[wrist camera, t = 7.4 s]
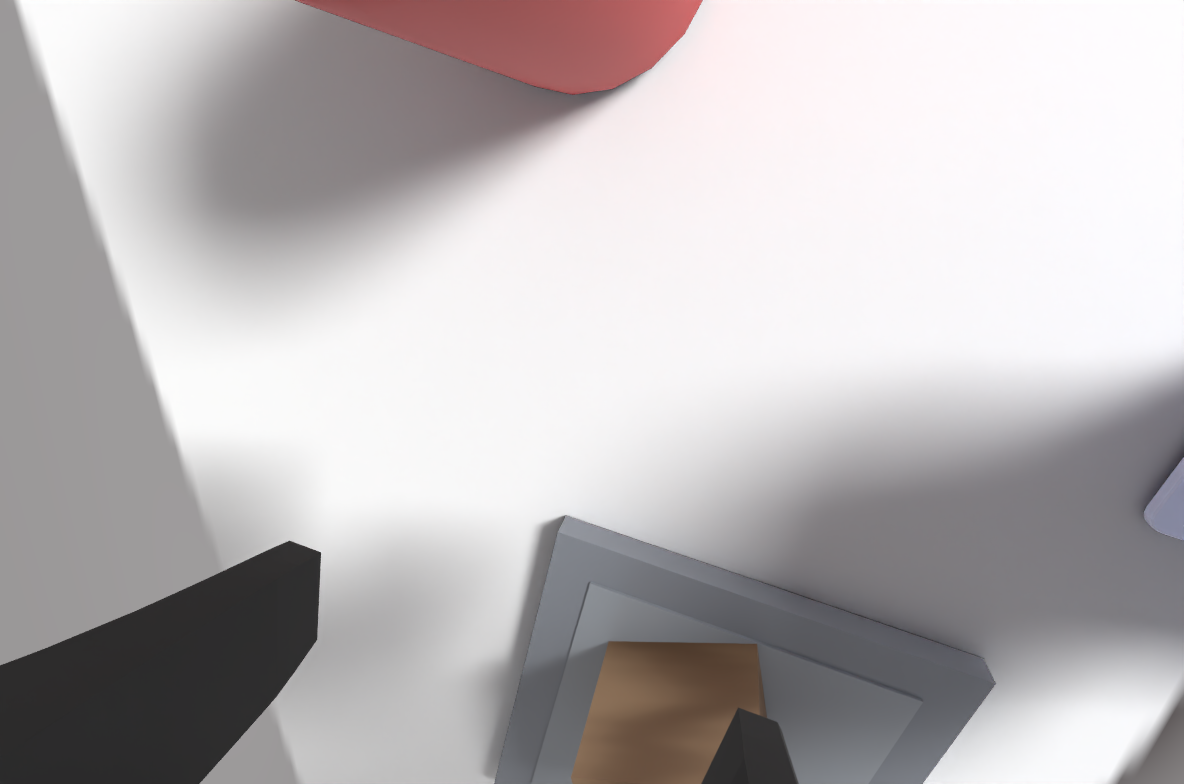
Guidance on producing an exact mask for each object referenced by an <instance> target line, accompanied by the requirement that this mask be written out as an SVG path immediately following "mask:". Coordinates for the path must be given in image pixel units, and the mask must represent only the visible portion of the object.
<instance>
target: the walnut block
mask: <svg viewBox="0 0 1184 784" xmlns="http://www.w3.org/2000/svg"><path fill="white" fill-rule="evenodd" d="M738 708H741V709H744V710H746V711H749V712H752V713H754V714H757V715H760V716H762V717H765V718H767V714H766V707H765V699H764V692H763V684H762V677H761V669H760V662H759V654H758V647H757V644H738V643H683V642H629V641H609V642H608V646H607V649H606V653H605V656H604V660H603V664H602V667H601V671H600V674H599V678H598V682H597V685H596V689H595V692H594V696H593V700H592V703H591V707H590V710H589V714H588V717H587V721H586V725H585V728H584V732H583V735H582V739H581V743H580V746H579V750H578V753H577V757H576V761H575V764H574V768H573V771H572V775H571V780H572V783H573V784H701V783H702V781H703V779H704V777H705V775H706V773H707V771H708V769H709V767H710V765H711V762H712V760H713V758H714V756H715V754H716V752H717V750H718V748H719V746H720V744H721V742H722V740H723V738H724V736H725V734H726V731H727V729H728V727H729V725H730V723H731V721H732V719H733V717H734V715H735V713H736V711H737V709H738Z"/></svg>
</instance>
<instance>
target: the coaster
mask: <svg viewBox="0 0 1184 784" xmlns="http://www.w3.org/2000/svg"><path fill="white" fill-rule="evenodd" d="M609 641H629V642H683V643H738V644H757V647H758V654H759V662H760V669H761V677H762V684H763V692H764V699H765V707H766V714H767V718H768V719H771V720H773V721H776V722H778V724H779V726H780V728H781V730H782V733H783V736H784V739H785V742H786V746H787V749H788V752H789V755H790V758H791V761H792V764H793V767H794V770H795V774H796V777H797V780H798V783H799V784H923V782H924V781H925V780H926V778H927V777H928V776H929V774H930V773H931V771H932V770H933V769H934V767H935V766H936V765H937V763H938V762H939V761H940V759H941V758H942V756H943V755H944V754H945V752H946V751H947V750H948V748H949V747H950V746H951V744H952V743H953V741H954V740H955V739H956V737H957V736H958V735H959V733H960V732H961V730H962V729H963V728H964V726H965V725H966V724H967V722H968V721H969V720H970V718H971V717H972V715H973V714H974V713H975V711H976V710H977V709H978V707H979V706H980V704H981V703H982V702H983V700H984V699H985V698H986V696H987V695H988V694H989V692H990V691H991V689H992V688H993V687H994V685H995V681H994V679H993V677H992V675H991V673H990V671H989V669H988V667H987V665H986V663H985V661H984V659H983V658H981V657H978V656H975V655H972V654H969V653H966V652H963V651H961V650H958V649H955V648H952V647H949V646H946V645H943V644H940V643H937V642H934V641H931V640H928V639H925V638H923V637H920V636H917V635H914V634H911V633H908V632H905V631H902V630H899V629H896V628H893V627H890V626H887V625H885V624H882V623H879V622H876V621H873V620H870V619H867V618H864V617H861V616H858V615H855V614H852V613H850V612H847V611H844V610H841V609H838V608H835V607H832V606H829V605H826V604H823V603H820V602H817V601H814V600H812V599H809V598H806V597H803V596H800V595H797V594H794V593H791V592H788V591H785V590H782V589H779V588H776V587H774V586H771V585H768V584H765V583H762V582H759V581H756V580H753V579H750V578H747V577H744V576H741V575H739V574H736V573H733V572H730V571H727V570H724V569H721V568H718V567H715V566H712V565H709V564H706V563H703V562H701V561H698V560H695V559H692V558H689V557H686V556H683V555H680V554H677V553H674V552H671V551H668V550H666V549H663V548H660V547H657V546H654V545H651V544H648V543H645V542H642V541H639V540H636V539H633V538H630V537H628V536H625V535H622V534H619V533H616V532H613V531H610V530H607V529H604V528H601V527H598V526H595V525H592V524H590V523H587V522H584V521H581V520H578V519H575V518H572V517H569V516H565V519H564V521H563V523H562V525H561V527H560V529H559V531H558V533H557V537H556V541H555V545H554V549H553V553H552V557H551V561H550V565H549V569H548V573H547V577H546V581H545V585H544V589H543V593H542V597H541V601H540V604H539V608H538V612H537V616H536V620H535V624H534V628H533V632H532V636H531V640H530V644H529V648H528V652H527V656H526V660H525V664H524V668H523V672H522V676H521V680H520V684H519V688H518V692H517V696H516V700H515V704H514V707H513V711H512V715H511V719H510V723H509V727H508V731H507V735H506V739H505V743H504V747H503V751H502V755H501V759H500V763H499V767H498V771H497V775H496V779H495V783H494V784H573V783H572V780H571V775H572V771H573V768H574V764H575V761H576V757H577V753H578V750H579V746H580V743H581V739H582V735H583V732H584V728H585V725H586V721H587V717H588V714H589V710H590V707H591V703H592V700H593V696H594V692H595V689H596V685H597V682H598V678H599V674H600V671H601V667H602V664H603V660H604V656H605V653H606V649H607V646H608V642H609Z"/></svg>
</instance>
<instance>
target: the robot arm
mask: <svg viewBox="0 0 1184 784" xmlns="http://www.w3.org/2000/svg"><path fill="white" fill-rule="evenodd" d="M1144 519H1145V520H1146V522H1147V523H1148V524H1149V525H1150V526H1151V527H1152V528H1153V529H1154V530H1156V531H1157V532H1159V533H1161V534H1164V535H1167V536H1171V537H1174V538H1177V539H1180V540H1184V457H1183V459H1182V460H1181V461H1180V463H1179V464H1178V465H1177V467H1176V468H1175V469H1174V471H1173V472H1172V473H1171V475H1170V476H1169V477H1168V479H1167V480H1166V481H1165V483H1164V484H1163V485H1162V487H1161V488H1160V489H1159V491H1158V492H1157V493H1156V495H1155V496H1154V497H1153V499H1152V500H1151V501H1150V503H1149V504H1148V505H1147V507H1146V509H1145V511H1144ZM320 563H321V552H318V551H316V550H313V549H310V548H308V547H305V546H302V545H299V544H297V543H294V542H291V541H288V542H285V543H283V544H281V545H279V546H276V547H274V548H272V549H270V550H268V551H265V552H263V553H261V554H259V555H257V556H255V557H252V558H250V559H248V560H246V561H244V562H242V563H240V564H238V565H235V566H233V567H231V568H229V569H227V570H225V571H223V572H220V573H218V574H216V575H214V576H212V577H210V578H208V579H206V580H204V581H201V582H199V583H197V584H195V585H192V586H190V587H188V588H186V589H184V590H182V591H179V592H177V593H175V594H173V595H170V596H168V597H166V598H164V599H162V600H159V601H157V602H155V603H153V604H150V605H148V606H146V607H144V608H141V609H139V610H137V611H135V612H132V613H130V614H128V615H125V616H123V617H120V618H118V619H116V620H113V621H111V622H108V623H106V624H103V625H101V626H99V627H96V628H94V629H91V630H89V631H86V632H84V633H82V634H79V635H77V636H74V637H72V638H70V639H67V640H65V641H62V642H60V643H58V644H55V645H53V646H51V647H48V648H45V649H43V650H40V651H37V652H35V653H32V654H30V655H27V656H25V657H22V658H19V659H17V660H14V661H11V662H8V663H6V664H3V665H0V784H199V783H200V782H201V781H202V780H203V779H204V778H205V777H206V776H207V774H208V773H209V772H210V771H211V770H212V769H213V768H214V767H215V765H216V764H217V763H218V762H219V761H220V760H221V759H222V758H223V757H224V755H225V754H226V753H227V752H228V751H229V750H230V749H231V748H232V746H233V745H234V744H235V743H236V742H237V741H238V740H239V739H240V737H241V736H242V735H243V734H244V733H245V732H246V731H247V730H248V728H249V727H250V726H251V725H252V724H253V723H254V722H255V721H256V719H257V718H258V717H259V716H260V715H261V714H262V713H263V711H264V710H265V709H266V708H267V707H268V706H269V705H270V703H271V702H272V701H273V700H274V699H275V698H276V696H277V695H278V694H279V692H280V691H281V690H282V688H283V687H284V686H285V684H286V683H287V681H288V680H289V679H290V677H291V676H292V675H293V673H294V672H295V671H296V669H297V668H298V666H299V665H300V663H301V662H302V660H303V659H304V658H305V656H306V655H307V653H308V652H309V650H310V649H311V648H312V646H313V645H314V643H315V642H316V640H317V628H318V606H319V585H320ZM701 784H799V783H798V780H797V777H796V774H795V770H794V767H793V764H792V761H791V758H790V755H789V752H788V749H787V746H786V742H785V739H784V736H783V733H782V730H781V728H780V726H779V724H778V722H776V721H773V720H771V719H768V718H765V717H762V716H760V715H757V714H754V713H752V712H749V711H746V710H744V709H741V708H738V709H737V711H736V713H735V715H734V717H733V719H732V721H731V723H730V725H729V727H728V729H727V731H726V734H725V736H724V738H723V740H722V742H721V744H720V746H719V748H718V750H717V752H716V754H715V756H714V758H713V760H712V762H711V765H710V767H709V769H708V771H707V773H706V775H705V777H704V779H703V781H702V783H701Z"/></svg>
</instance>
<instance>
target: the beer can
mask: <svg viewBox="0 0 1184 784" xmlns="http://www.w3.org/2000/svg"><path fill="white" fill-rule="evenodd" d="M295 1H298V2H301V3H304V4H306V5H309V6H312V7H315V8H318V9H320V10H323V11H326V12H329V13H332V14H334V15H337V16H340V17H343V18H346V19H348V20H351V21H354V22H357V23H359V24H362V25H365V26H368V27H371V28H373V29H376V30H379V31H382V32H385V33H387V34H390V35H393V36H396V37H399V38H401V39H404V40H407V41H410V42H412V43H415V44H418V45H421V46H424V47H426V48H429V49H432V50H435V51H438V52H440V53H443V54H446V55H449V56H451V57H454V58H457V59H460V60H463V61H465V62H468V63H471V64H474V65H477V66H479V67H482V68H485V69H488V70H491V71H493V72H496V73H499V74H502V75H504V76H507V77H510V78H513V79H516V80H518V81H521V82H524V83H527V84H530V85H532V86H535V87H540V88H544V89H549V90H554V91H558V92H563V93H568V94H572V95H575V94H581V93H588V92H595V91H602V90H608V89H614V88H615V87H617V86H619V85H621V84H623V83H625V82H627V81H628V80H630V79H632V78H634V77H636V76H638V75H640V74H642V73H643V72H645V71H647V70H649V69H651V68H652V67H653V66H654V65H655V64H656V63H657V62H658V61H659V60H660V59H661V58H662V57H663V56H664V55H665V54H666V53H667V52H668V50H669V49H670V48H671V47H672V46H673V45H674V44H675V43H676V42H677V41H678V40H679V39H680V38H681V37H682V36H683V35H684V34H685V32H686V30H687V28H688V27H689V25H690V23H691V21H692V19H693V17H694V15H695V14H696V12H697V10H698V8H699V6H700V4H701V2H702V1H703V0H295Z"/></svg>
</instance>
